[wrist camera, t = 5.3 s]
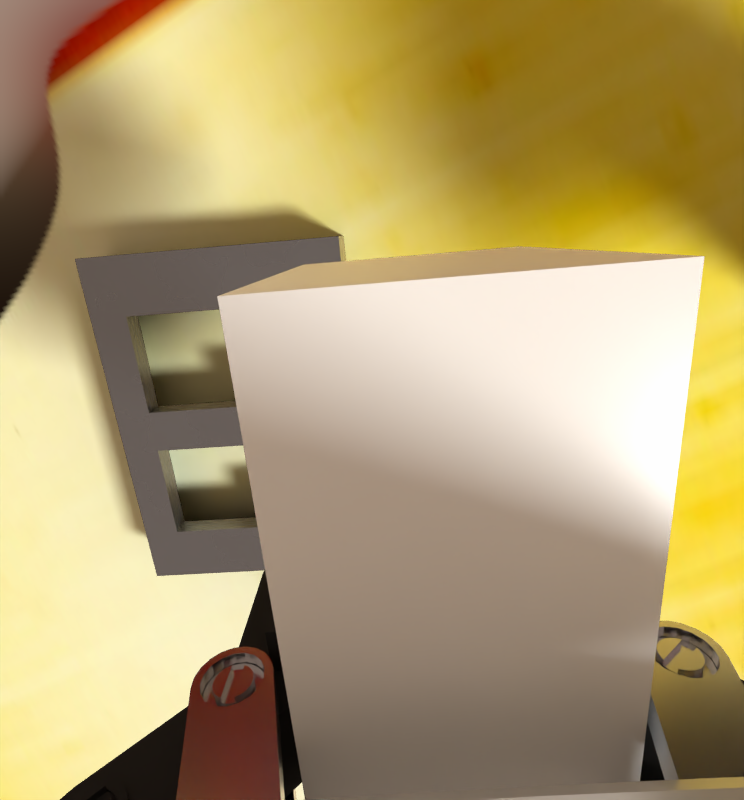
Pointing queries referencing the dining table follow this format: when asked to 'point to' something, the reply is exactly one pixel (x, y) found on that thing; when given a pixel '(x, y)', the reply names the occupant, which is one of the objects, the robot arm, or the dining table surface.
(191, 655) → the dining table surface
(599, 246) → the dining table surface
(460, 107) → the dining table surface
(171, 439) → the grey frame with openings
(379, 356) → the white block orange button
